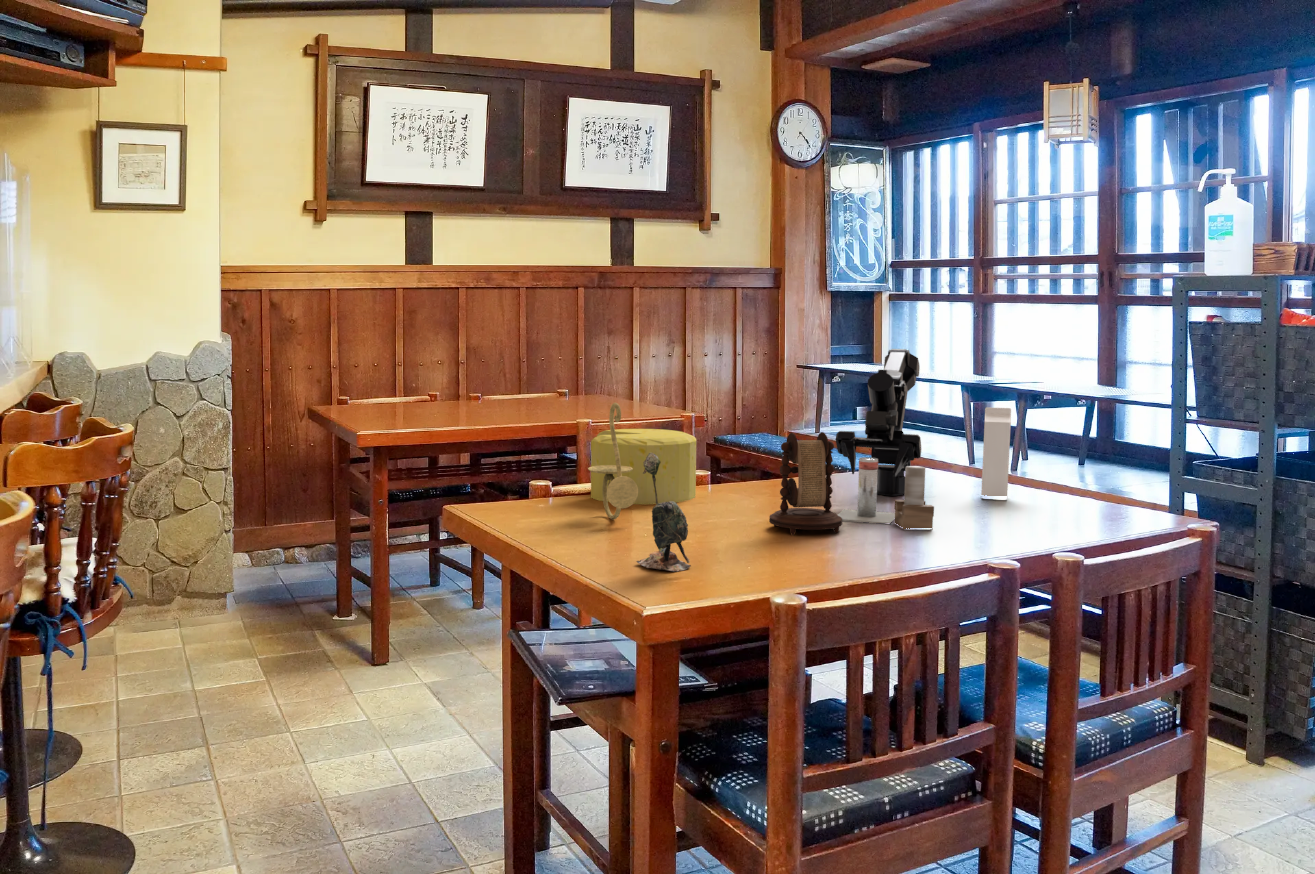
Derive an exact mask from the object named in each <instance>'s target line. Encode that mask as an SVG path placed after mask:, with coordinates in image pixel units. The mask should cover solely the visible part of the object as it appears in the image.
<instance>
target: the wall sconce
mask: <svg viewBox="0 0 1315 874" xmlns="http://www.w3.org/2000/svg"><path fill="white" fill-rule="evenodd" d="M615 411H616V414H615ZM608 418H609V430H610V431H611V437H612V442H613V448H614V453H615V460H616V465H602V466H592V467H591V466H589V467H587V469H588V471H590V473H591V472H595V473H602V474H605V476H604V480H603V501H602V502H603V507H604V511H605V513H606V514H605V515H606V516H607V517H608V518H609V519H610V520H611V521H613V520H614V521H615V520H617V519H618V518H619V516H620V514H621V510H622V509H627V508H629V507H631V506H632V505H634V504H633V503H634V502H635V501H636V499H637V496H638V487H637V485H636V483H635V482H634V480H632V479H631V478H629V477H626V476H622V474H621V473H627V472H630V471H632V469H633V468H631V467H627V466H621V464H620V456H619V450H618V444H617V439H616V434H615V430H616V429H615V423H619V422H620V421H621V419H622V410H621V406H620V404H619V403H617V402H613V403H612V404H611V406H610V408H609V417H608ZM613 474H617V478H614V476H613ZM608 480H609V483H608V488H607V482H608ZM610 480H611V482H610ZM607 498H608V500H609V502H608V501H607ZM609 504H611V506H613V507H615V508H616V509H615V511H614V514H613V513H612V512H611V510H610V506H609Z"/></svg>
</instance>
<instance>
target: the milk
mask: <svg viewBox="0 0 1315 874" xmlns="http://www.w3.org/2000/svg"><path fill="white" fill-rule="evenodd" d="M1011 423H1012V409H1011V408H1010V407H989V406H986V407H985V409H984V427H983V428H984V429H983V447H982V449H983V450H982V451H983V452H982V453H983V454H982V472H981V490H980V491H981V492H980V493H981V495H984V496H985V495H987V496H1007V497H1008V489H1009V488H1008V487H1009V486H1008V485H1009V484H1008V483H1009V464H1010V444H1011V427H1012V426H1011ZM981 495H980V496H981Z"/></svg>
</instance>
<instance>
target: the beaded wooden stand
mask: <svg viewBox="0 0 1315 874" xmlns="http://www.w3.org/2000/svg"><path fill="white" fill-rule="evenodd" d="M780 448H781V449H780V450H782V452H781V454H782V455H783V456H782V458H781V464H782V465H780V467H779V473H780V474H781V477H782V480H781V482H780V485H781V489H780V490H779V495H780V496H781V497H780V500H781V503H780V505H779V508H780V510H777V511H774V512H773V513H771V514H769V518H768V519H769V520H768V521H769V524H771V525H772V526H774V527H780V528H785V529H789V532H790V534H791V536H795V534H796V531H797V530H807V531H809V530H811V531H812V530H813V531H814V530H816V531H819V530H830V529H833V531H834V533H835V534H838V533H839V530H840V527H841V526H842V525H843V521H842V518H841V517H840V516H838V514H837V513H835V512H833V511H831V509H832V501H831V498H832V496H831V495H832V494H833V492H834V491H833V490H834V489H833V487H832V486H831V485H832V484H833V482H832V477H831V476H833V473H834V471H835V466H834V464H832V462H833V461H834V460H833V456H832V454H833V453H834V451H833V450H834V448H835V444H834V443H833V441H831V440H829V438H828V436H827V434H826V433H825V432H819V433H818V435H817V438H816V440H815V439H812V440H807V439H805V440H798V438H797V435H796V434H795V433H794V432H790V433H789V434H788V435H787V437H786V441H784V442H783V443H781V445H780ZM790 461H791V462H792V464H793V465H795V464H796V465H797V466H792V467H791V466H790V465H789V464H790ZM791 473H792V474H797V476H798V477H797V478H798V483H796V480H795V479H794V478H793V477H789V476H790V474H791ZM797 484H798V486H797ZM789 505H790V506H792V507H791V508H789ZM813 507H814V508H813ZM816 507H817V508H816ZM818 507H819V508H818ZM821 507H823V509H822V508H821Z"/></svg>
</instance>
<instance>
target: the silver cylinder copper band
mask: <svg viewBox="0 0 1315 874" xmlns="http://www.w3.org/2000/svg"><path fill="white" fill-rule="evenodd" d="M877 477H878V459H877V458H871V457H869V456H867V457H865V456H864V457H863V456H862V457H859V459H858V485H857V490H858V491H857V509H856V510H857V516H860V517H876V512H877V502H878V501H877V500H878V499H877V498H878V497H877V496H878V494H877Z"/></svg>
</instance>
